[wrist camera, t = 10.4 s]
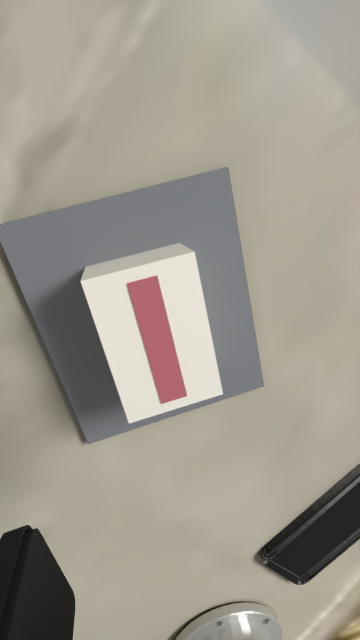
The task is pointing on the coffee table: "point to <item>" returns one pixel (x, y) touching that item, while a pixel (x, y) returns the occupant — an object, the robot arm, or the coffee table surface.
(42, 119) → the coffee table surface
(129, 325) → the card box
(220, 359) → the mat
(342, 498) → the phone
